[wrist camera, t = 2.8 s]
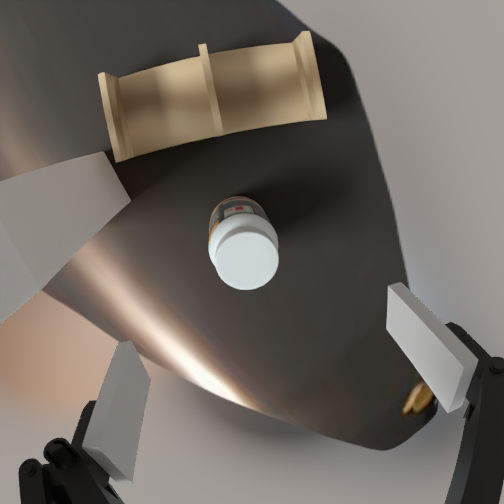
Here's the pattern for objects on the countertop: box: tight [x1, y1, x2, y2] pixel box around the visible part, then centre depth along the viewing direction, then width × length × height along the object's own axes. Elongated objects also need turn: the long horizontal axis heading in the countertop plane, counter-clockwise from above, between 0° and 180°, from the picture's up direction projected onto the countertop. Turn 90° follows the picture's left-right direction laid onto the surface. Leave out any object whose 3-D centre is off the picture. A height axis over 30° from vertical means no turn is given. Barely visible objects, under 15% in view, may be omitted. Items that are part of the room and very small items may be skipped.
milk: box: [0, 152, 131, 324], centre depth 19 cm, size 6×6×22 cm
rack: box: [98, 31, 327, 163], centre depth 25 cm, size 8×18×5 cm, turn 101°
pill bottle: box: [209, 196, 279, 290], centre depth 28 cm, size 6×6×10 cm
